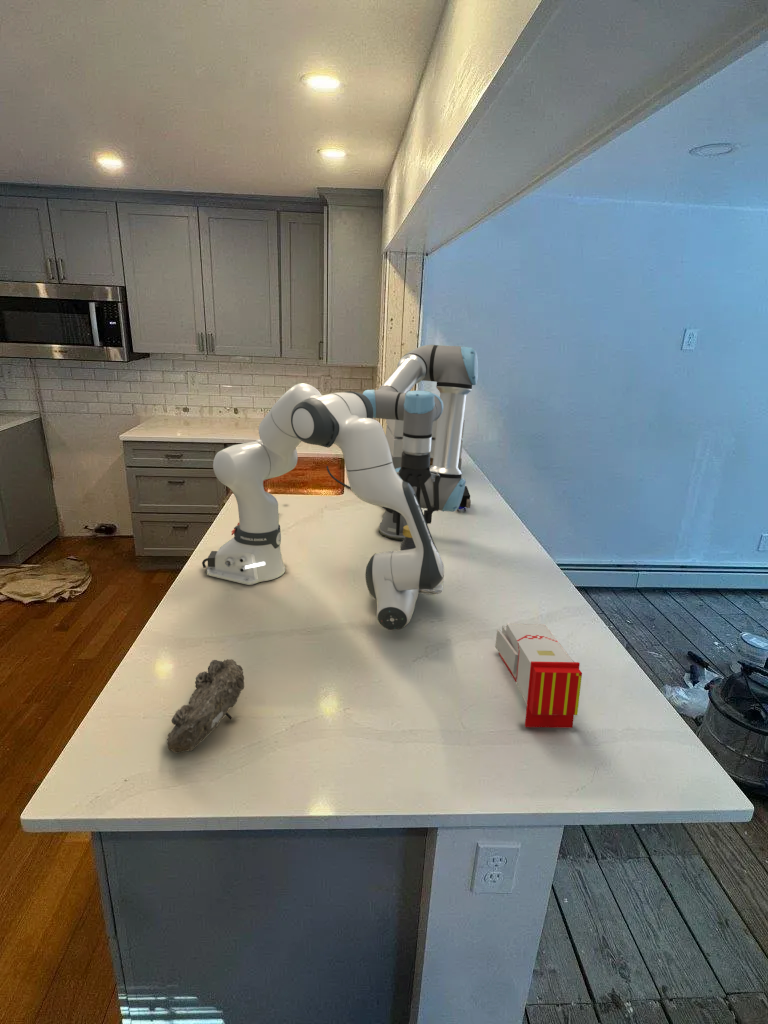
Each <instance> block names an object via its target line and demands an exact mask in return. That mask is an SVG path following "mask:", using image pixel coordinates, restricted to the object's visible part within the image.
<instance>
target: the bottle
mask: <svg viewBox="0 0 768 1024" xmlns="http://www.w3.org/2000/svg"><path fill="white" fill-rule="evenodd" d="M414 548H416V546H415V543H414V541H413V538H409V537H405V538H404V540H402V541H401V543H400V548H399V549H400V550H408V549H414ZM400 550H399V551H400Z"/></svg>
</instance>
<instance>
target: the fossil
mask: <svg viewBox="0 0 768 1024" xmlns="http://www.w3.org/2000/svg"><path fill="white" fill-rule="evenodd" d="M243 670H244V669H243V667H242V665H240V664H237V662H236V661H235V660H234V659H232V658H231V659H227V658H226V659H224V660H223V661H222V660H217V659H212V660H211V661H210V663H209V665H208V666H207V671H201V672H199V673H198V674H197V675H196V676H195V680H194V684H195V685H194V687H195V689H194V690H193V693H192V694H191V697H190V698H189V700H188V704H184V705H182V706H181V707H180V709H177V710H176V711H175V713H174V715H173V716H172V718H171V723H172V724H173V727H172V730H171V731H170V732H168V734H167V738H166V741H167V742H166V745H167V749H168V750H169V751H173V752H174V753H176V754H178V753H182V752H188V751H189V752H192V751H193V750H195V748H196V747H197V746H199V744H200V743H201V742H203V741H204V740H205V739H206V738H207V737H208V736H209V735H210V734H211V733H212V732H214V730H215V729H217V727H218V726H219V724H220V722H221V721H222V720H223V719H224V718H225V716H226V717H227V719H229V720H233V717H232V715H230V714H229V710H230V709H231V708H234V706H235V704H236V703H237V702H238V699H239V697H240V695H241V693H242V691H243V690H245V689H244V688H245V675H244V671H243Z"/></svg>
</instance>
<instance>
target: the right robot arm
mask: <svg viewBox="0 0 768 1024" xmlns="http://www.w3.org/2000/svg"><path fill="white" fill-rule="evenodd" d="M478 379H479V358H478V353H477V351H476V349H475V348H474V347H470V346H463V345H460V346H459V345H457V346H456V345H441V344H440V345H438V344H425V345H421V346H418V347H416V348H414V349H412V350H410V351H408V352H407V353H405V354H404V355H402V357H401V358H399V360H398V362H397V365H396V369H394V371H393V372H392V373H391V374H390V375H389V376H388V378H387V379H386V380H385V381H384V382H383V383H382V384H381V385H380V386H379V388H378V389H366V390H364V391H363V392H362V394H363V395H365V396H366V397H367V398H368V399H369V400H370V402H371V404H372V407H373V419H381V420H386V419H392V420H402V421H404V423H403V441H402V450H403V452H402V458H401V468H396V469H395V470H396V472H397V474H398V476H399V477H400V478H401V479H402V480H403V481H404V482H407V483H409V484H410V485H411V486H412V488H413V490H414V492H415V494H416V496H417V499H418V501H419V504H420V506H421V509H424V510H423V514H424V517H425V520H426V522H427V525H428V524H432V519H433V518H432V517H433V513H434V512H439V511H442V512H448V513H449V512H450V513H454V512H456V511H457V509H458V508H459V505H460V503H461V500H462V497H463V493H464V489H465V486H466V479H465V478H462V477H463V476H462V475H463V473H462V470H461V471H460V470H459V469H458V463H459V454H460V445H461V440H462V438H461V437H462V428H463V419H464V420H465V418H464V417H465V411H466V400H467V395H468V394H470V393H471V392H472V390H473V386H476V385H478ZM422 381H423V382H435V383H436V386H435V387H436V389H437V391H438V392H439V393H440V394H439V395H438V394H436V393H433V392H431V391H427V390H412V389H413V388H414V386H415V385H416V384H419V383H421V382H422ZM436 420H437V428H436V438H435V447H434V456H433V465H430V453H429V452H430V451H431V440H432V426H433V422H434V421H436ZM326 470H327V473H328V475H329V477H331V478H332V479H333V480H335V481H336V483H338V484H340V485H341V486H344V488H347V489H349V490H351V487H350V485H347V484H345V483H344V482H342V481H340V480H339V479H338V478H336V477H335V476H334V475H333V474H332V472H331V471H330V469H329V466H328V465H326ZM382 508H383V509H384V513H383V515H382V519H381V522H379V526H378V533H379V534H380V535H381V536H382V537H385V538H387V539H389V540H395V541H403V540H404V538H405V536H404V535H403V527H404V526H406V525H407V522H406V520H405V518H404V517H403V516H402V515H401V514H400V513H399V512H397V511H395V510H393V509H390V508H386V507H382Z"/></svg>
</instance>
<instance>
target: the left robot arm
mask: <svg viewBox="0 0 768 1024" xmlns="http://www.w3.org/2000/svg"><path fill="white" fill-rule="evenodd" d="M258 435H259V438H258V439H256V440H253V441H248V442H243V443H238V444H237V443H236V444H233V445H230V446H228V447H225V448H223V449H221V450H219V451H217V452H216V454H215V456H214V458H213V462H212V469H213V473H214V475H215V477H216V479H217V480H218V481H219V482H220V483H221V484H222V485H224V486H225V487H226V488H228V489H230V491H231V492H232V494H233V495H234V498H235V500H236V504H237V511H238V519H239V520H238V522H237V523H236V524H237V525H236V526H235V527H233V529H232V530H231V536H233V537H232V538H231V539H229V540H228V541H226V542H224V543H223V544H222V545H221V546H220V547H219V548H218V549H217V550H211V551H210V553H209V555H208V556H207V557H206V558H204V559H203V560H202V561H201V565H202V568H203V569H206V575H207V576H210V577H212V578H218V579H221V580H225V581H229V582H234V583H239V584H243V585H247V586H252V585H255V584H258V583H260V582H261V583H262V582H268V581H271V580H275V579H277V578H280V577H281V576H283V575H284V573H286V566H285V564H284V560H283V555H282V550H281V543H282V532H281V525H280V521H279V520H280V519H279V518H280V517H279V515H280V512H279V502H278V499H277V498H276V497H275V496H274V495H273V494H272V493H270V492H268V491H266V490H265V487H264V481H266V480H270V479H274V478H277V477H281V476H283V475H285V474H287V473H289V472H291V471H292V470H294V469H295V468H296V466H297V464H298V459H299V455H298V451H297V448H298V447H299V445H300V444H301V442H303V443H305V444H309V445H314V446H320V447H324V448H330V447H332V446H333V445H335V446H337V447H338V448H339V449H340V450H341V452H342V455H343V459H344V466H345V472H346V476H347V480H348V484H349V487H351V489H350V491H352V493H353V495H355V496H356V497H357V498H358V499H360V500H361V501H363V502H364V503H367V504H369V505H373V506H378V507H382V508H383V507H386V508H390V509H393V510H395V511H397V512H399V513H400V514H401V515H402V516H403V517H404V518H405V520H406V522H407V525H408V527H409V530H410V533H411V535H412V538H413V541H414V543H415V546H416V548H414V549H408V550H391V551H383V552H377V553H374V554H373V555H372V556H371V557H370V558H369V560H368V563H367V564H366V568H365V583H366V587H367V590H368V593H369V596H370V597H371V598H373V599H374V600H375V601H376V619H377V622H378V624H379V625H380V626H381V627H383V628H385V629H387V630H390V631H398V630H401V629H404V628H405V627H406V626H407V625H408V624H409V623H410V621H411V620H412V617H413V614H414V611H415V608H416V603H417V600H418V597H419V594H422V595H430V596H433V595H434V596H435V595H438V594H439V593H443V591H444V586H443V583H444V577H445V566H444V562H443V559H442V557H441V554H440V553H439V551H438V549H437V546H436V544H435V541H434V539H433V536H432V534H431V531H430V527H429V525H428V524H427V522H426V520H425V517H424V511H423V508H421V506H420V504H419V501H418V499H417V496H416V494H415V492H414V490H413V488H412V486H411V485H410V484H409V483H407V482H404V481H403V480H402V479H401V478H400V477H399V476H398V474H397V472H396V470H395V468H394V465H393V462H392V461H393V460H392V456H391V451H390V448H389V444H388V441H387V438H386V431H385V430H384V428H383V425H382V424H381V423H380V421H378V420H376V418H373V407H372V404H371V402H370V400H369V399H368V398H367V397H366V396H365V395H363V393H361V392H358V391H351V390H349V391H347V390H346V391H342V392H341V391H339V392H331V393H327V394H322V393H321V392H320V391H319V390H318V389H317V388H316V387H315V386H313V385H311V384H309V383H306V382H305V383H303V382H301V383H296V384H294V385H293V386H292V387H290V388H289V389H288V390H287V391H285V392H284V393H283V394H282V395H281V396H280V397H279V398H278V399H277V401H276V402H274V404H273V406H272V407H271V408H270V409H269V411H268V412H267V413H266V415H265V416H264V418H262V420H261V421H260V422H259V425H258ZM206 562H207V566H206ZM206 567H207V568H206Z"/></svg>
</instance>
